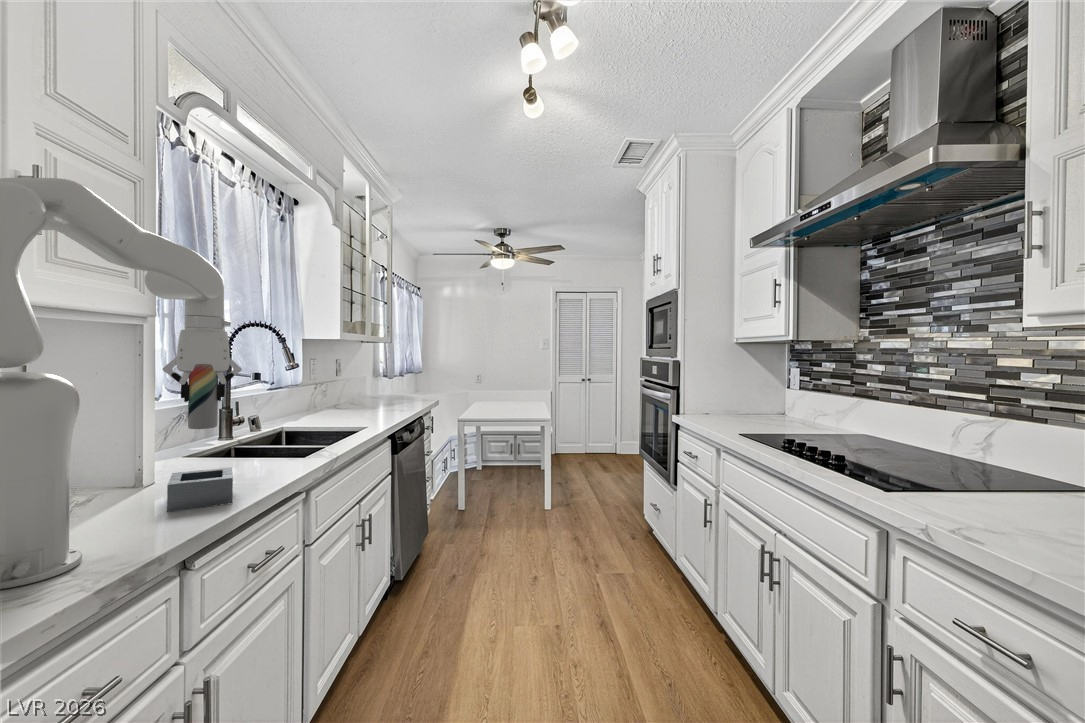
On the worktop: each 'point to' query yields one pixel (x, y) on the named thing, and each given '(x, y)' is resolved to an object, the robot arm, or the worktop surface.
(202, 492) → the socket block
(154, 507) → the worktop surface
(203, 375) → the lotion bottle
